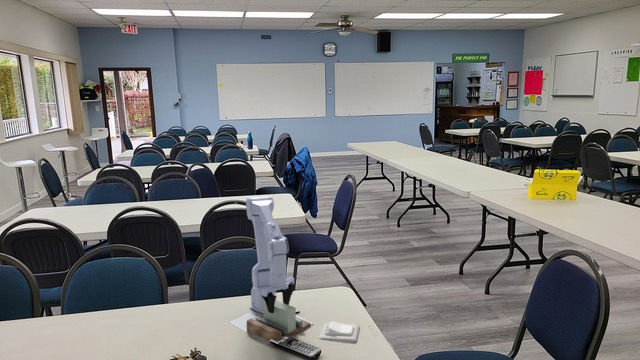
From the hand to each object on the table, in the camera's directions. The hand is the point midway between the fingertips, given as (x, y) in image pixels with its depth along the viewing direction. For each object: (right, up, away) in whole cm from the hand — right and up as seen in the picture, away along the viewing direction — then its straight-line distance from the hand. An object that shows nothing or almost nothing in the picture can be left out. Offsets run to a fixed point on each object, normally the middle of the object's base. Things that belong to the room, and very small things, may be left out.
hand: (278, 308), depth 159 cm
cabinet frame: (0, -7, +1) cm, 8 cm away
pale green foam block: (0, -7, +1) cm, 7 cm away
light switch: (+21, -9, -1) cm, 23 cm away
